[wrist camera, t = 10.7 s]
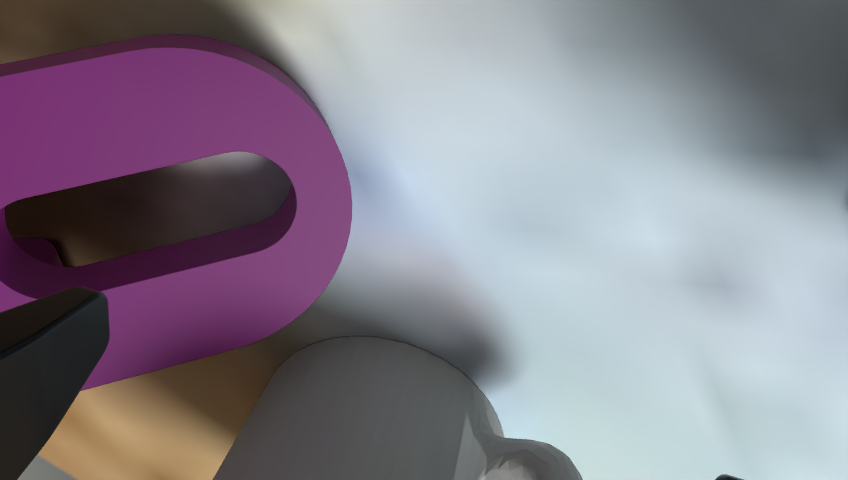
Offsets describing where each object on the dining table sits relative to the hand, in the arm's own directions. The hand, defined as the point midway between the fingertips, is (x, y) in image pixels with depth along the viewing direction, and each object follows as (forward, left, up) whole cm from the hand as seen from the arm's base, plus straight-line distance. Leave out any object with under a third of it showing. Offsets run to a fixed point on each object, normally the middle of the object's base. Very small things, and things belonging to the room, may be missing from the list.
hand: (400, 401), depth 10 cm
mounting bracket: (+12, +6, -12) cm, 18 cm away
